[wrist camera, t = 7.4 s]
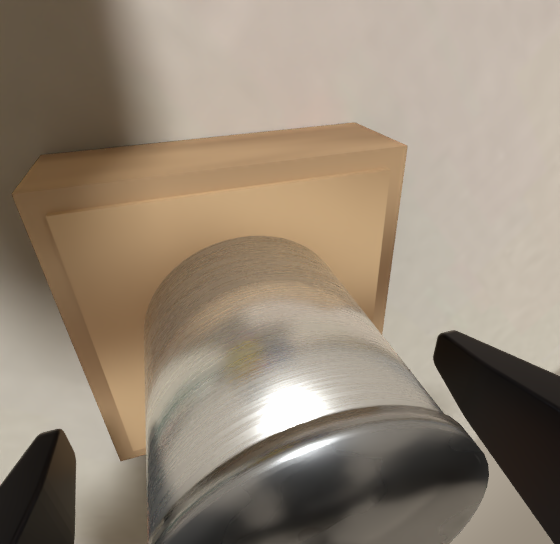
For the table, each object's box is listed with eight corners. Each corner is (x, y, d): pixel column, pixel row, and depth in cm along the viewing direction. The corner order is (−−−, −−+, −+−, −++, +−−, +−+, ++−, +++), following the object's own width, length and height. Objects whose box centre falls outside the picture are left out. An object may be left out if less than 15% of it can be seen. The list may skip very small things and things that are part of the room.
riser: (340, 339, 17) (376, 394, 15) (123, 391, 15) (120, 465, 13) (354, 122, 13) (411, 147, 10) (40, 155, 10) (9, 197, 8)
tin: (337, 373, 14) (451, 570, 9) (162, 419, 12) (178, 682, 7) (347, 216, 10) (532, 383, 6) (114, 253, 9) (87, 516, 4)
